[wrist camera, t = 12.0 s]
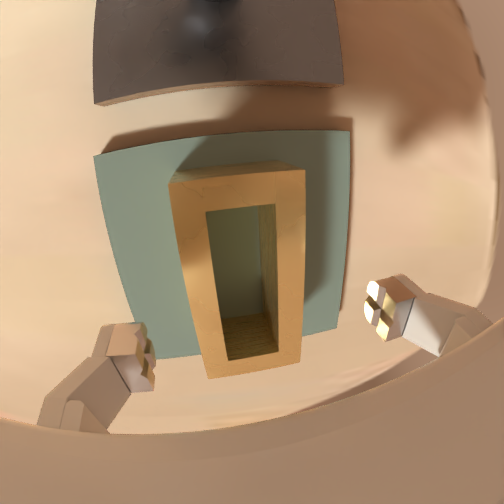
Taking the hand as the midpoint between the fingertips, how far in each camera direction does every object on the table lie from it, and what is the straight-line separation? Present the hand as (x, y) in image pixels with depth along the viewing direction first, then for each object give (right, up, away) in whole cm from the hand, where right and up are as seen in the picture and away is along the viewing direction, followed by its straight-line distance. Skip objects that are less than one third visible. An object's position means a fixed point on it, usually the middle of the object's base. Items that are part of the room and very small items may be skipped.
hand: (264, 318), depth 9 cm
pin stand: (-2, +16, 0) cm, 16 cm away
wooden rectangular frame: (-1, +2, +6) cm, 6 cm away
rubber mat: (-1, +2, +6) cm, 7 cm away
